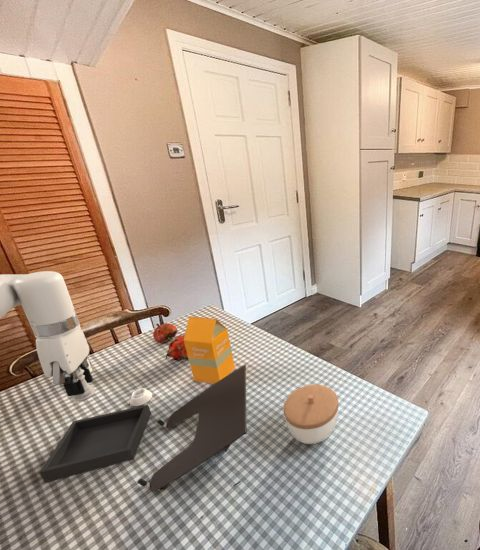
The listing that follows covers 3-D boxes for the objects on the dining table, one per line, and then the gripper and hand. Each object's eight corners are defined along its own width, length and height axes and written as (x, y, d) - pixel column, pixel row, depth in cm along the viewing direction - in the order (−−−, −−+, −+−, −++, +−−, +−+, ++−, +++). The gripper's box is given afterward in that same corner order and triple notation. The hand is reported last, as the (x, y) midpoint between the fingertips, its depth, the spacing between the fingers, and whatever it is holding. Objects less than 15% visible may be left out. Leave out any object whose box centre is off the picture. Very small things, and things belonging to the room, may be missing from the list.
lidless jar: (156, 396, 85) (144, 391, 86) (154, 387, 84) (141, 383, 85) (139, 409, 80) (126, 404, 82) (136, 400, 79) (123, 396, 81)
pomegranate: (184, 343, 112) (171, 322, 115) (183, 335, 107) (169, 313, 109) (162, 354, 108) (149, 332, 110) (159, 346, 102) (146, 323, 105)
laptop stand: (185, 429, 81) (160, 410, 77) (260, 380, 84) (240, 359, 80) (166, 518, 62) (130, 500, 57) (265, 450, 64) (239, 427, 60)
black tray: (44, 483, 62) (38, 472, 61) (77, 430, 74) (73, 421, 73) (133, 459, 67) (129, 449, 66) (151, 413, 79) (148, 404, 78)
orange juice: (220, 384, 89) (207, 325, 82) (193, 381, 90) (178, 323, 83) (235, 367, 96) (224, 312, 89) (210, 364, 98) (197, 309, 90)
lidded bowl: (332, 405, 82) (330, 372, 78) (346, 444, 71) (344, 408, 67) (284, 419, 77) (279, 385, 73) (291, 463, 66) (286, 425, 62)
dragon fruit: (208, 350, 107) (174, 373, 99) (192, 333, 108) (157, 355, 100) (210, 339, 102) (174, 363, 93) (193, 322, 102) (156, 343, 94)
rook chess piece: (98, 394, 78) (89, 368, 75) (76, 405, 74) (65, 379, 71) (91, 387, 80) (82, 362, 77) (69, 398, 76) (58, 372, 73)
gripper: (55, 310, 75) (79, 371, 82) (9, 347, 61) (42, 417, 68) (92, 306, 78) (112, 365, 84) (56, 341, 63) (83, 409, 70)
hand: (80, 387), depth 76 cm, fingers closed on rook chess piece, 3 cm apart
